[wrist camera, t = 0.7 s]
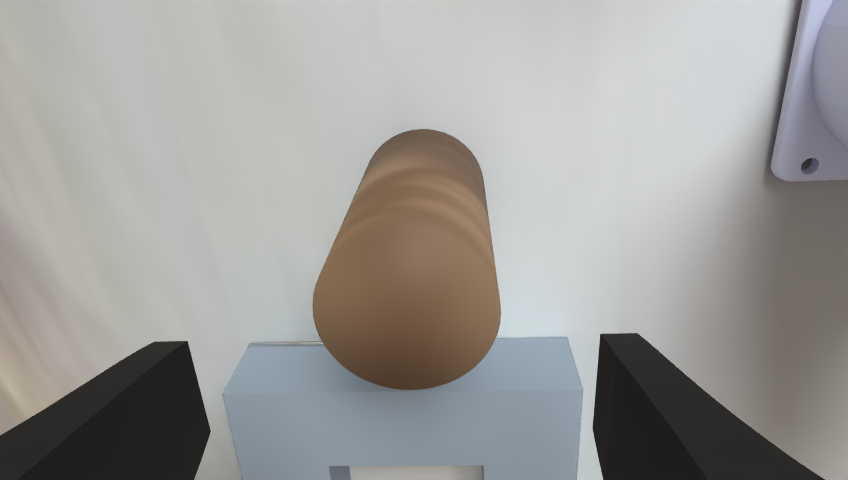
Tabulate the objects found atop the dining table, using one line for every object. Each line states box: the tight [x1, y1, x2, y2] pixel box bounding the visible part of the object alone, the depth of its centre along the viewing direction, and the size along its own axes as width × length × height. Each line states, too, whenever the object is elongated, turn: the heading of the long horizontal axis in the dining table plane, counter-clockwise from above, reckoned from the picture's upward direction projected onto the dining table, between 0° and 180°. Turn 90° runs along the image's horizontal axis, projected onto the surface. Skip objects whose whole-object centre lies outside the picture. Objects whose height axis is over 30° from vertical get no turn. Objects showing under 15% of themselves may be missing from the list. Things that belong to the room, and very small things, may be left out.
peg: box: [313, 129, 501, 390], centre depth 16 cm, size 4×4×8 cm
